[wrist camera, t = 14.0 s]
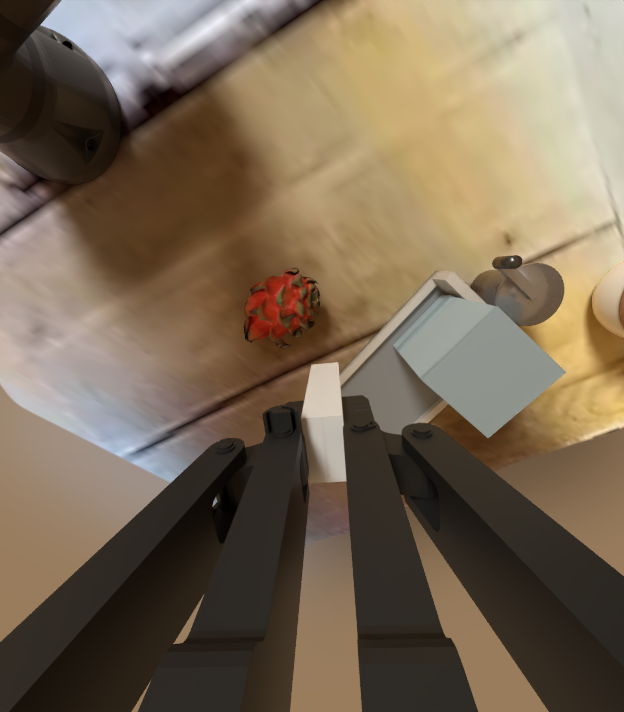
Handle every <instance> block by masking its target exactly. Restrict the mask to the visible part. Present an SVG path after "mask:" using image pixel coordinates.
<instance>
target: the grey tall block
mask: <svg viewBox="0 0 624 712" xmlns="http://www.w3.org/2000/svg"><path fill="white" fill-rule="evenodd" d="M393 346H394V347H395V349H396V350H397V351H398V352H399V353H400V355H401V356H402V357H403V358H404V359H405V361H406V362H407V363H408V364H409V365H410V367H411V368H412V369H413V370H414V372H415V373H416V374H417V375H418V376H419V378H420V379H421V380H422V381H423V382H424V383H425V384H427V385H428V386H429V387H430V388H431V389H432V390H433V391H435V392H436V393H437V394H438V395H439V396H440V397H441V398H443V399H444V400H445V401H446V402H447V403H448V404H449V405H451V406H452V407H453V408H454V409H455V410H456V411H457V412H458V413H460V414H461V415H462V416H463V417H464V418H465V419H466V420H468V421H469V422H470V423H471V424H472V425H473V426H474V427H476V428H477V429H478V430H479V431H480V432H481V433H482V434H484V435H485V436H486V437H487V438H489V437H490V436H492V435H493V434H494V433H495V432H496V431H497V430H499V429H500V428H501V427H502V426H503V425H505V424H506V423H507V422H508V421H509V420H510V419H512V418H513V417H514V416H515V415H516V414H518V413H519V412H520V411H521V410H522V409H523V408H525V407H526V406H527V405H528V404H529V403H530V402H532V401H533V400H534V399H535V398H536V397H538V396H539V395H540V394H541V393H542V392H543V391H545V390H546V389H547V388H548V387H549V386H551V385H552V384H553V383H554V382H555V381H556V380H558V379H559V378H560V377H561V376H562V375H563V374H565V373H566V372H565V371H564V370H563V369H562V368H561V367H560V366H559V365H558V364H557V363H556V362H555V361H554V360H553V359H552V358H551V357H550V356H549V355H548V354H547V353H546V352H544V351H543V350H542V349H541V348H540V347H539V346H538V345H537V344H536V343H535V342H534V341H533V340H532V339H531V338H530V337H529V336H528V335H527V334H526V333H525V332H524V331H523V330H522V329H521V328H520V327H519V326H517V325H516V324H515V323H514V322H513V321H512V320H511V319H510V318H509V317H508V316H507V315H506V314H505V313H504V312H503V311H502V310H501V309H500V308H499V307H497V306H493V305H488V304H484V303H479V302H474V301H470V300H465V299H461V298H456V297H453V296H451V295H443V294H442V295H441V296H440V297H439V298H438V299H437V300H436V301H435V302H434V303H433V304H432V305H431V306H430V307H429V308H428V309H427V310H426V312H425V313H424V314H423V315H422V316H421V317H420V318H419V319H418V320H417V321H416V322H415V323H414V324H413V325H412V326H411V327H410V328H409V329H408V330H407V331H406V332H405V333H404V334H403V335H402V336H401V337H400V338H399V339H398V340H397V342H396V343H395V344H394V345H393Z"/></svg>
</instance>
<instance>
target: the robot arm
mask: <svg viewBox="0 0 624 712" xmlns="http://www.w3.org/2000/svg"><path fill="white" fill-rule="evenodd" d="M61 1H62V0H0V151H1V152H2V153H4V154H5V155H7V156H8V157H10V158H11V159H12V160H14V161H15V162H16V163H17V164H18V165H20V166H21V167H22V168H24V169H25V170H27V171H29V172H31V173H33V174H35V175H37V176H39V177H42V178H45V179H48V180H51V181H54V182H58V183H62V184H69V185H75V184H82V183H86V182H89V181H91V180H93V179H95V178H97V177H98V176H99V175H101V174H102V173H103V172H104V171H105V170H106V169H107V168H108V166H109V165H110V164H111V162H112V160H113V159H114V157H115V154H116V152H117V149H118V145H119V141H120V134H121V118H120V110H119V106H118V102H117V98H116V95H115V93H114V90H113V88H112V86H111V84H110V82H109V80H108V78H107V77H106V75H105V74H104V72H103V71H102V69H101V68H100V67H99V66H98V64H97V63H96V62H95V61H94V60H93V59H92V58H91V57H90V56H88V55H87V54H86V53H85V52H84V51H83V50H82V49H81V48H79V47H78V46H77V45H76V44H75V43H73V42H72V41H71V40H69V39H68V38H66V37H65V36H63V35H61V34H60V33H58V32H56V31H53V30H51V29H49V28H46V27H44V26H41V23H42V22H43V21H44V20H45V19H46V18H47V17H48V15H49V14H50V13H51V12H52V11H53V10H54V9H55V7H56V6H57V5H58V4H59V3H60V2H61ZM262 415H263V421H264V426H265V432H266V435H265V438H264V441H263V443H260V444H257V445H254V446H250V447H246V448H245V445H244V441H242V440H241V439H237V438H227V439H223V440H220V441H219V442H216V443H214V444H213V445H212V446H210V447H209V448H208V449H207V450H206V451H205V452H204V453H203V454H202V455H200V456H199V457H198V458H197V459H196V460H195V461H194V462H193V463H192V464H191V465H190V466H189V467H188V468H187V469H185V470H184V471H183V472H182V473H181V474H180V475H179V476H178V477H177V478H176V479H175V480H174V481H173V482H172V483H170V484H169V485H168V486H167V487H166V488H165V489H164V490H163V491H162V492H161V493H160V494H159V495H158V496H157V497H156V498H154V499H153V500H152V501H151V502H150V503H149V504H148V505H147V506H146V507H145V508H144V509H143V510H142V511H141V512H139V513H138V514H137V515H136V516H135V517H134V518H133V519H132V520H131V521H130V522H129V523H128V524H127V525H125V527H123V528H122V529H121V530H120V531H119V532H118V533H117V534H116V535H115V536H114V537H113V538H112V539H110V540H109V541H108V542H107V543H106V544H105V545H104V546H103V547H102V548H101V549H100V550H99V551H98V552H97V553H95V554H94V555H93V556H92V557H91V558H90V559H89V560H88V561H87V562H86V563H85V564H84V565H83V566H82V567H80V568H79V570H77V571H76V572H75V573H74V574H73V575H72V576H71V577H70V578H69V579H68V580H67V581H66V582H65V583H63V584H62V585H61V586H60V587H59V588H58V589H57V590H56V591H55V592H54V593H53V594H52V595H50V596H49V597H48V598H47V599H46V600H45V601H44V602H43V603H42V604H41V605H40V606H39V607H38V608H36V609H35V610H34V611H33V612H32V614H30V615H29V616H28V617H27V618H26V619H25V620H24V621H23V622H21V624H19V625H18V626H17V627H16V628H15V629H14V630H13V631H12V632H11V633H10V634H9V635H8V636H7V637H6V638H4V639H3V640H2V641H1V642H0V712H131V711H132V710H133V708H134V707H135V705H136V703H137V702H138V700H139V698H140V696H141V695H142V694H143V692H144V690H145V689H146V687H147V685H148V684H149V682H150V681H151V682H150V685H149V687H148V689H147V692H146V694H145V696H144V699H143V701H142V703H141V705H140V708H139V710H138V712H290V704H291V692H292V680H293V670H294V658H295V647H296V635H297V624H298V614H299V603H300V590H301V580H302V569H303V558H304V546H305V535H306V524H307V513H308V502H309V486H308V474H309V481H310V483H326V482H342V481H347V495H348V509H349V522H350V536H351V549H352V562H353V577H354V591H355V605H356V618H357V632H358V657H359V671H360V687H361V701H362V712H478V710H477V707H476V704H475V701H474V698H473V695H472V692H471V689H470V686H469V683H468V680H467V677H466V674H465V671H464V668H463V665H462V662H461V659H460V657H459V654H458V651H457V649H456V647H455V645H454V643H453V641H452V640H451V638H446V637H445V635H444V633H443V630H442V627H441V624H440V621H439V618H438V614H437V611H436V608H435V605H434V601H433V598H432V595H431V592H430V588H429V585H428V582H427V579H426V576H425V572H424V569H423V566H422V563H421V559H420V556H419V553H418V550H417V547H416V543H415V540H414V537H413V534H412V530H411V527H410V524H409V520H408V517H407V514H406V511H405V507H404V504H403V501H402V498H401V495H404V498H405V501H406V503H407V504H408V506H409V507H410V509H411V510H412V512H413V513H414V515H415V516H416V517H417V519H418V521H419V522H420V523H421V525H422V526H423V528H424V529H425V531H426V532H427V534H428V535H429V537H430V538H431V540H432V541H433V543H434V544H435V545H436V547H437V548H438V550H439V551H440V553H441V554H442V555H443V557H444V559H445V560H446V561H447V563H448V564H449V566H450V567H451V568H452V570H453V572H454V573H455V575H456V576H457V578H458V579H459V581H460V582H461V583H462V585H463V586H464V588H465V589H466V591H467V592H468V594H469V595H470V597H471V598H472V600H473V601H474V602H475V604H476V605H477V607H478V608H479V610H480V611H481V613H482V614H483V616H484V617H485V619H486V620H487V622H488V623H489V625H490V626H491V627H492V629H493V630H494V632H495V633H496V635H497V636H498V638H499V639H500V640H501V642H502V644H503V645H504V646H505V648H506V649H507V651H508V652H509V654H510V655H511V657H512V658H513V660H514V661H515V663H516V664H517V666H518V667H519V668H520V670H521V671H522V673H523V674H524V676H525V677H526V679H527V680H528V682H529V683H530V685H531V686H532V687H533V689H534V690H535V692H536V693H537V695H538V696H539V698H540V699H541V701H542V702H543V704H544V705H545V707H546V708H547V709H548V711H549V712H624V576H623V575H621V574H620V573H619V572H618V571H616V570H615V569H614V568H613V567H611V566H610V565H609V564H608V563H607V562H605V561H604V560H603V559H601V558H600V557H599V556H598V555H596V554H595V553H594V552H593V551H592V550H590V549H589V548H588V547H587V546H585V545H584V544H583V543H581V542H580V541H579V540H578V539H577V538H575V537H574V536H573V535H571V534H570V533H569V532H568V531H567V530H565V529H564V528H563V527H562V526H561V525H559V524H558V523H557V522H555V521H554V520H553V519H552V518H551V517H549V516H548V515H547V514H546V513H544V512H543V511H542V510H541V509H539V508H538V507H537V506H536V505H534V504H533V503H532V502H531V501H529V500H528V499H527V498H526V497H524V496H523V495H522V494H521V493H519V492H518V491H517V490H516V489H514V488H513V487H512V486H511V485H509V484H508V483H507V482H506V481H505V480H503V479H502V478H501V477H499V476H498V475H497V474H496V473H495V472H493V471H492V470H491V469H490V468H488V467H487V466H486V465H485V464H483V463H482V462H481V461H480V460H478V459H477V458H476V457H475V456H473V455H472V454H471V453H470V452H468V451H467V450H466V449H465V448H463V447H462V446H461V445H460V444H458V443H457V442H456V441H455V440H454V439H452V438H451V437H450V436H449V435H447V434H446V433H445V432H444V431H442V430H441V429H440V428H438V427H436V426H434V425H431V424H428V423H413V424H410V425H407V426H405V427H404V428H403V429H402V432H401V434H402V435H400V434H392V433H387V432H384V431H382V430H380V426H379V425H378V423H377V422H375V420H374V416H373V413H372V410H371V406H370V403H369V400H368V398H366V397H365V396H363V395H357V396H345V397H341V386H340V376H339V366H338V362H335V363H325V364H314V365H311V369H310V375H309V380H308V385H307V390H306V395H305V400H304V401H296V402H288V403H287V404H285V405H281V406H276V407H273V408H270V409H268V410H266V411H265V412H264V413H263V414H262ZM400 494H401V495H400ZM215 497H216V498H217V503H216V504H215V505H214V506H213V507H212V505H213V501H214V499H215ZM204 593H205V594H204ZM203 595H204V597H203V600H202V602H201V605H200V608H199V610H198V613H197V615H196V618H195V621H194V623H193V626H192V628H191V631H190V633H189V635H188V637H187V639H186V640H185V641H184V642H183V643H180V644H173V643H174V642H175V640H176V638H177V637H178V635H179V634H180V632H181V630H182V629H183V627H184V626H185V624H186V622H187V621H188V619H189V617H190V616H191V614H192V613H193V611H194V609H195V608H196V606H197V604H198V603H199V601H200V600H201V598H202V596H203ZM152 677H153V678H152ZM151 679H152V680H151Z"/></svg>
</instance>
